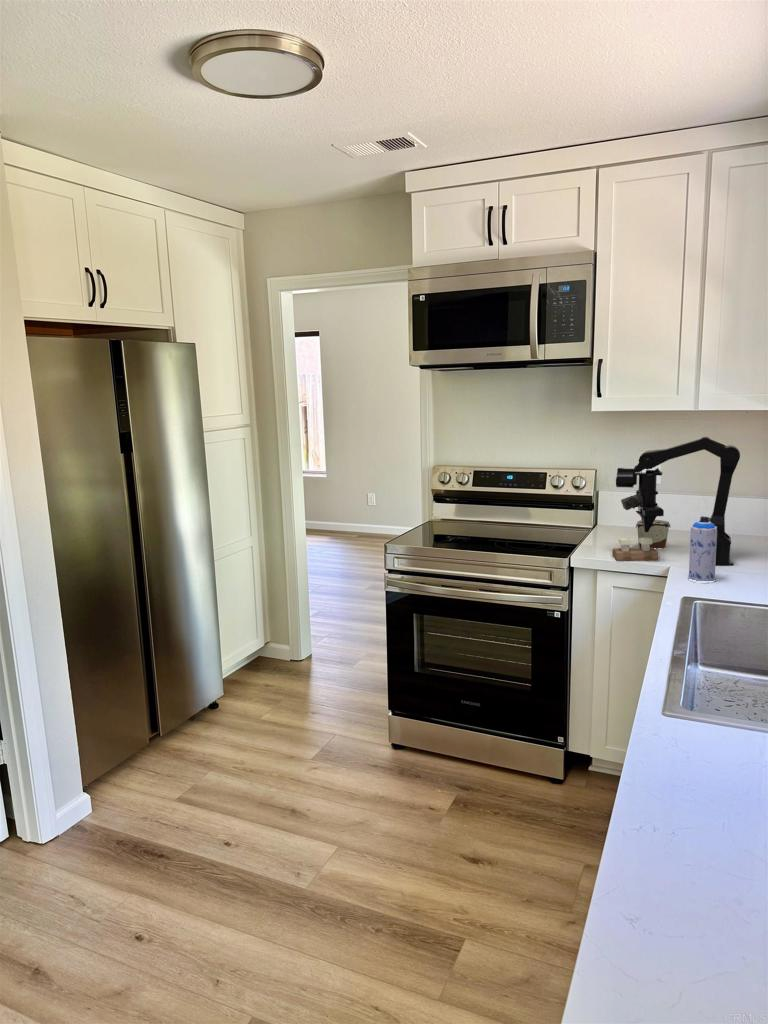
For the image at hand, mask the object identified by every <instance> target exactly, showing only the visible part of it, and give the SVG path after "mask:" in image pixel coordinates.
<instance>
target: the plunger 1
mask: <svg viewBox="0 0 768 1024" xmlns="http://www.w3.org/2000/svg"><path fill="white" fill-rule="evenodd" d="M618 543H619V544H620V548H621V551H629V548H630V545H633V544H632V543H633V540H632V539H631V538H630V537H619V538H618Z"/></svg>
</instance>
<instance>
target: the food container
mask: <svg viewBox="0 0 768 1024" xmlns="http://www.w3.org/2000/svg"><path fill="white" fill-rule="evenodd" d="M635 528H636V529H637V536H638V540H637V541H638V548H641V543H639V538H647V537H650V538H651V539H652V544H650V548H656V549H655V550H659V549H658V548H662V549H661V550H665V549H664V548H666V549H667V541H668V535H669V529H671V523H670V521H667V520H662V519H661V520H660V519H655V520H654V522H653V524H652V526H651V528H650V530H649V531H648V532H644V528H643V524H642V520H641V519H640V520H638V521H636V525H635Z"/></svg>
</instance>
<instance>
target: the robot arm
mask: <svg viewBox="0 0 768 1024" xmlns="http://www.w3.org/2000/svg"><path fill="white" fill-rule="evenodd" d="M701 451H707V452H709V453H710V454H712V455H714V456H716V457H718V458H719V459H720V460H719V461H720V463H719V464H720V465H719V467H720V471H719V472H720V474H719V479H718V483H717V490H716V495H715V499H714V504H713V510H712V513H711V516H710V517H709V516H707V517H708V521H710V522H711V523H713V524H714V525H715V526H716V527H717V544H716V564H715V566H734V564H735V563H734V562H732V561H731V548H732V547H731V545H732V538H731V536H730V535H729V534H728V533H727V532H726V527H725V526H726V524H725V522H726V521H725V519H726V517H725V515H726V510H727V506H728V500H729V495H730V490H731V486H732V485H731V484H732V479H733V475H734V473H735V470H736V469H737V466H738V463H739V462H740V458H741V452H740V451H739V449H738V447H736V446H735V445H729V444H728V445H725V444H724V443H722V442H721V443H720V442H719V441H716V440H713V439H711V438H710V437H708V436H702V437H701V438H698V439H695V440H692V441H688V442H685V443H682V444H677V445H675V446H672V447H668V448H664V449H663V448H662V449H653V450H646V451H644V452H642V454H641V455H640V456H639V458H638V463H637V465H634V467H633V468H624V467H618V468H617V469H616V470H617V472H616V478H615V487H616V488H628V489H629V488H631V489H632V488H634V486H635V485H638V489H637V490H635V494H634V495H630V496H627V497H624V498H621V500H620V502H621V506H622V507H623V509H624V510H625V511H630V510H631V509H634V510H635V508H637V510H635V512H636V514H638V516H639V517H640V518H641V519H640V520H642V524H643V528H644V532H648V531H649V530H650V528H651V526H652V524H653V522H654V520H657V517H664V514H665V513H664V509H663V508H662V507H660V506H659V505H658V502H657V495H658V494H659V492H658V490H657V477H658V476H662V475H663V471H661V470H660V469H659V468H658V466H659V465H662V464H663V463H665V462H668V461H670V460H673V459H676V458H680V457H683V456H687V455H690V454H693V453H698V452H701ZM656 467H657V468H656ZM653 468H655V469H653ZM644 470H645V472H642V471H644Z"/></svg>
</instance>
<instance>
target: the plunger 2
mask: <svg viewBox="0 0 768 1024" xmlns="http://www.w3.org/2000/svg"><path fill="white" fill-rule="evenodd" d="M639 543H641V550H642V551H649V550H650V544H652V539H651V538H650V537H647V538H639V541H638V544H639Z"/></svg>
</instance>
